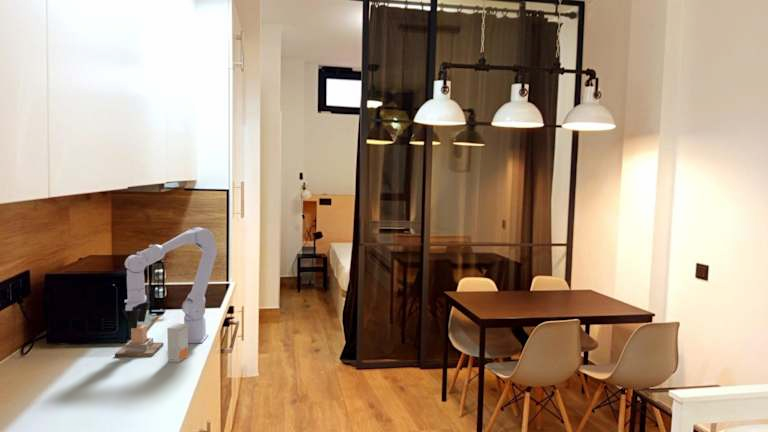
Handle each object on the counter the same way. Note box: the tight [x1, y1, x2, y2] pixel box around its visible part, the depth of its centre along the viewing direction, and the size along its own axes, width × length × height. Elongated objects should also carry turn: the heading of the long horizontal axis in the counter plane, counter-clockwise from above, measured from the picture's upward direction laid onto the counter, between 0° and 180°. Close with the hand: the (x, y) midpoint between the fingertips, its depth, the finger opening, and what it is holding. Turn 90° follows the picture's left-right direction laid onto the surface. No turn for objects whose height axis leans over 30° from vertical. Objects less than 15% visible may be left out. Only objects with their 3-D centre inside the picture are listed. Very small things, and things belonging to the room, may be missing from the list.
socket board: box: [114, 337, 164, 358], centre depth 188 cm, size 11×13×4 cm
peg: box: [130, 324, 148, 344], centre depth 188 cm, size 4×4×8 cm
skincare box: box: [166, 322, 189, 363], centre depth 180 cm, size 6×4×12 cm
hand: (137, 324), depth 187 cm, fingers open, 7 cm apart
